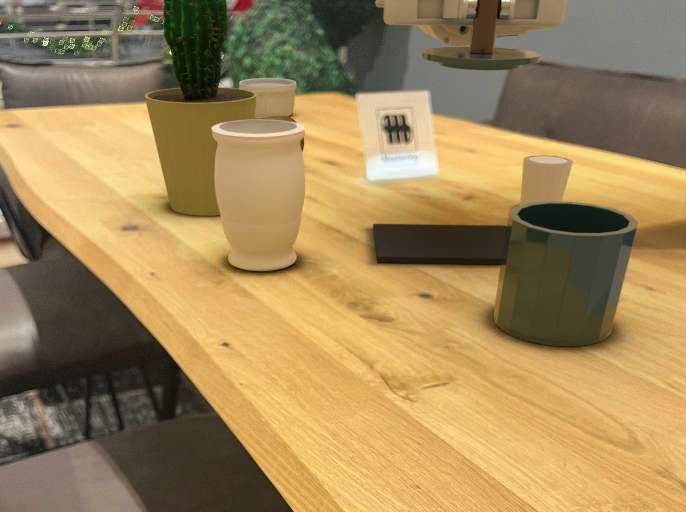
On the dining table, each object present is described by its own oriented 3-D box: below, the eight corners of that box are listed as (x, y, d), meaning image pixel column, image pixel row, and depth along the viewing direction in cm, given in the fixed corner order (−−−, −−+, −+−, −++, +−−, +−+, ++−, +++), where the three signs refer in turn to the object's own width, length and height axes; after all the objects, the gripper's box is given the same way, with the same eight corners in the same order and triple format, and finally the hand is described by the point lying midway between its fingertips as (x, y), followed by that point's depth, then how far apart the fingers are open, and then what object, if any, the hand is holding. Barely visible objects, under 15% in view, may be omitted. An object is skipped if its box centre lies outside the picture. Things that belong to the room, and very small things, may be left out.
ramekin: (275, 122, 171) (274, 87, 167) (228, 116, 177) (226, 82, 173) (307, 114, 180) (307, 80, 176) (262, 108, 186) (261, 76, 182)
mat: (505, 231, 104) (506, 225, 103) (525, 265, 92) (526, 258, 92) (372, 229, 104) (373, 223, 104) (377, 263, 93) (377, 256, 92)
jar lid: (526, 59, 88) (541, -38, 83) (551, 73, 78) (569, -37, 72) (417, 58, 88) (424, -40, 83) (427, 71, 78) (436, -39, 73)
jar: (285, 280, 87) (283, 138, 79) (204, 269, 90) (194, 131, 82) (317, 253, 96) (318, 121, 87) (241, 243, 98) (236, 115, 90)
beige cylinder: (561, 218, 109) (571, 166, 105) (512, 214, 111) (521, 162, 107) (564, 206, 114) (574, 156, 110) (518, 202, 116) (526, 152, 112)
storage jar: (593, 303, 82) (616, 202, 76) (626, 347, 73) (655, 236, 67) (485, 301, 83) (500, 200, 76) (504, 345, 73) (523, 234, 67)
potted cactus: (203, 226, 105) (183, -42, 87) (135, 205, 113) (104, -43, 96) (282, 205, 114) (278, -41, 96) (213, 187, 122) (198, -42, 105)
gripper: (374, -32, 88) (392, -29, 77) (548, -30, 89) (590, -27, 78) (371, 32, 92) (387, 43, 81) (538, 33, 93) (577, 44, 82)
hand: (489, 9), depth 79 cm, fingers closed on jar lid, 2 cm apart
